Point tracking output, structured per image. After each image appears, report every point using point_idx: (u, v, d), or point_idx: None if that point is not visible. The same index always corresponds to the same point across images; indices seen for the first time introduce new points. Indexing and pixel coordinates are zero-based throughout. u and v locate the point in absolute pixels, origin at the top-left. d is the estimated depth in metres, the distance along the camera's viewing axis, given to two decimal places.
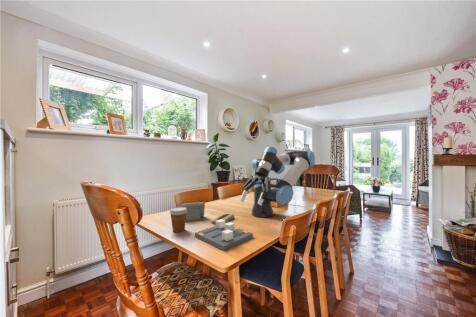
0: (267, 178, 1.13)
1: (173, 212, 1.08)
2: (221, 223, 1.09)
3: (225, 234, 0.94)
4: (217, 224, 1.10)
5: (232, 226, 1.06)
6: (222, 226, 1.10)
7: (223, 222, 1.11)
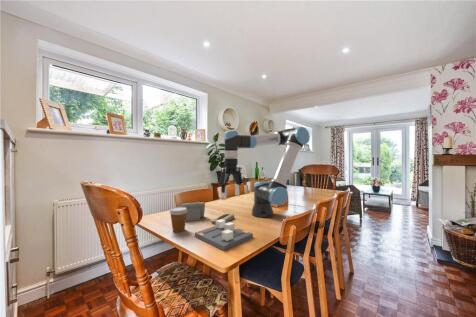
0: (221, 170, 1.13)
1: (173, 212, 1.08)
2: (221, 223, 1.09)
3: (225, 234, 0.94)
4: (217, 224, 1.10)
5: (232, 226, 1.06)
6: (222, 226, 1.10)
7: (223, 222, 1.11)
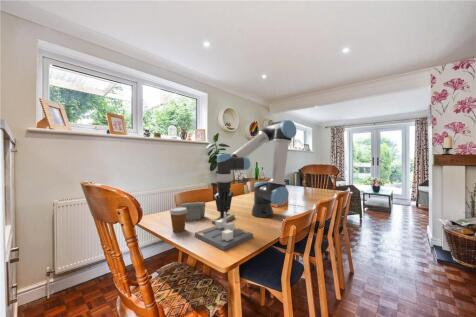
0: None
1: (173, 212, 1.08)
2: (221, 223, 1.09)
3: (225, 234, 0.94)
4: (217, 224, 1.10)
5: (232, 226, 1.06)
6: (222, 226, 1.10)
7: (223, 222, 1.10)
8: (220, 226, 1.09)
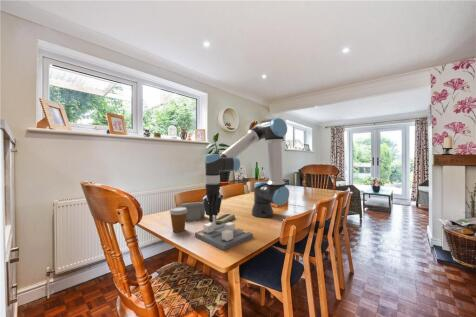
0: None
1: (173, 212, 1.08)
2: (209, 227, 1.04)
3: (225, 234, 0.94)
4: (205, 228, 1.04)
5: (232, 226, 1.06)
6: (210, 230, 1.04)
7: (211, 226, 1.05)
8: (208, 230, 1.03)
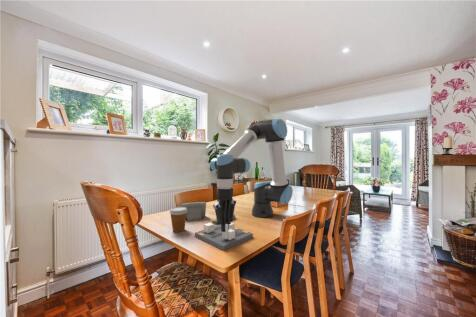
0: (214, 207, 0.91)
1: (173, 212, 1.08)
2: (209, 227, 1.04)
3: None
4: (205, 228, 1.04)
5: (232, 226, 1.06)
6: (210, 230, 1.04)
7: (211, 226, 1.05)
8: (209, 230, 1.03)
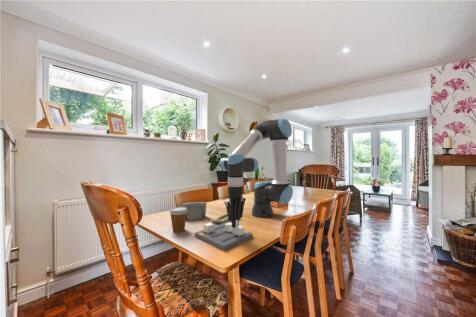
0: None
1: (173, 212, 1.08)
2: (209, 227, 1.04)
3: None
4: (205, 228, 1.04)
5: None
6: (210, 230, 1.04)
7: (211, 226, 1.05)
8: (209, 230, 1.03)
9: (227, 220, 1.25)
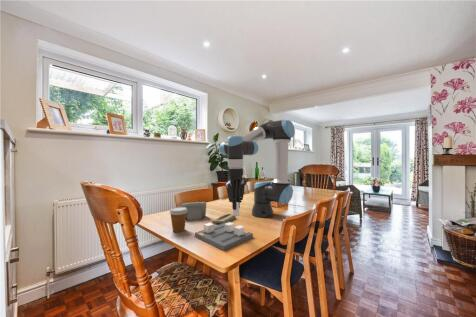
0: None
1: (173, 212, 1.08)
2: (209, 227, 1.04)
3: (237, 229, 1.00)
4: (205, 228, 1.04)
5: (232, 226, 1.06)
6: (210, 230, 1.04)
7: (211, 226, 1.05)
8: (209, 230, 1.03)
9: (227, 220, 1.25)
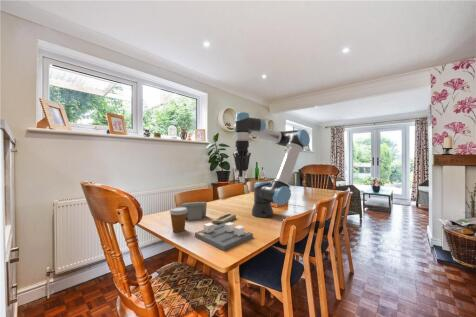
0: None
1: (173, 212, 1.08)
2: (209, 227, 1.04)
3: (237, 229, 1.00)
4: (205, 228, 1.04)
5: (232, 226, 1.06)
6: (210, 230, 1.04)
7: (211, 226, 1.05)
8: (209, 230, 1.03)
9: (227, 220, 1.25)
